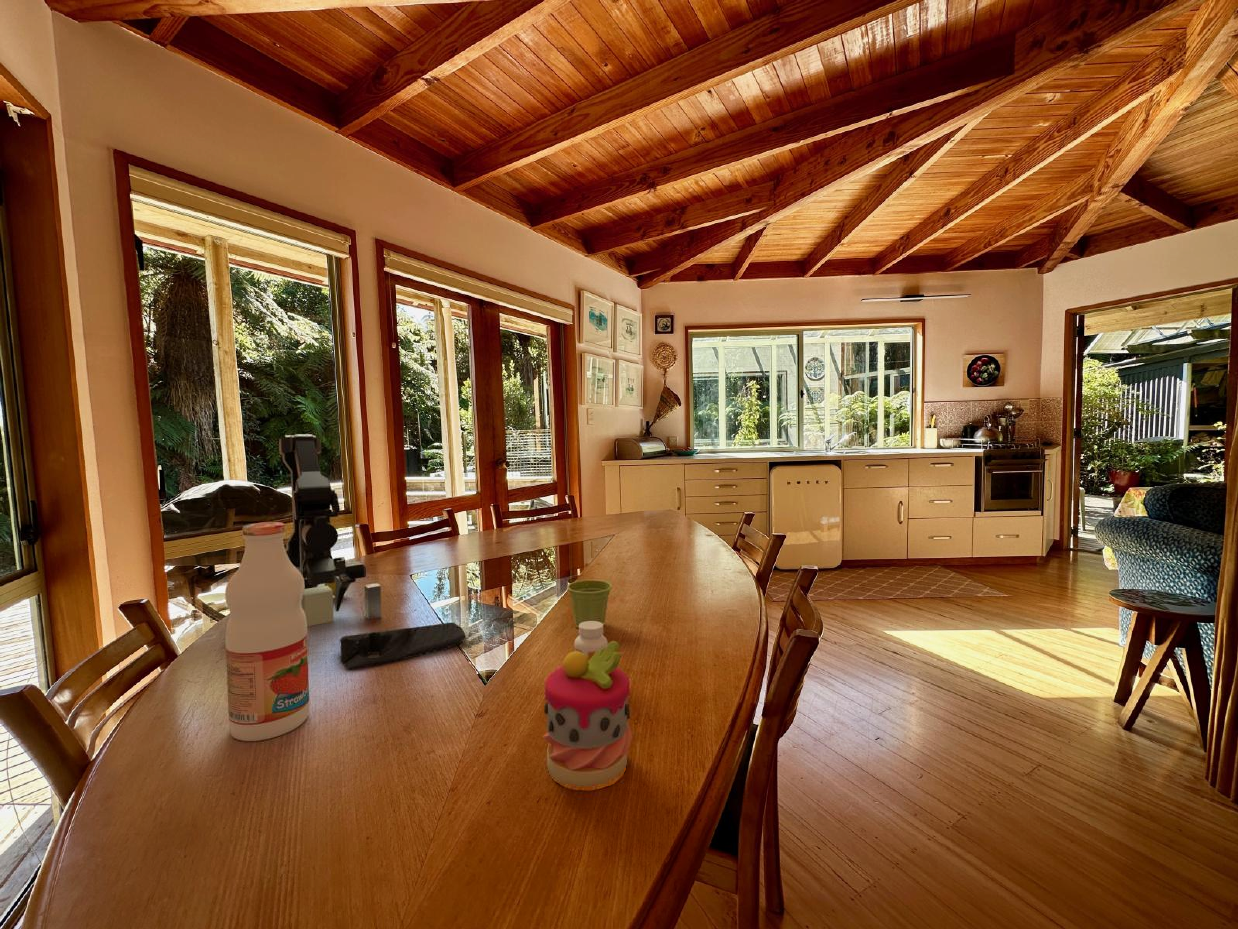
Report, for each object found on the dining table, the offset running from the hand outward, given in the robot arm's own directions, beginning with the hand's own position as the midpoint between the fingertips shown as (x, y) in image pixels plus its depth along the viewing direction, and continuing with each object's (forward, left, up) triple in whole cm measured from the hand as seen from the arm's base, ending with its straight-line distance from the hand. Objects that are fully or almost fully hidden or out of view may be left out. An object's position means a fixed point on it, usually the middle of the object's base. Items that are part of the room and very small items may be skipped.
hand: (317, 614), depth 115 cm
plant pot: (+39, +44, -2) cm, 59 cm away
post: (+5, +10, -1) cm, 11 cm away
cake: (+77, +16, -2) cm, 79 cm away
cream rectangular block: (0, 0, -1) cm, 1 cm away
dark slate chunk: (+26, +10, -2) cm, 28 cm away
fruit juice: (+42, -13, -2) cm, 44 cm away
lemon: (-15, +7, -2) cm, 17 cm away
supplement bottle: (+60, +29, -2) cm, 67 cm away
